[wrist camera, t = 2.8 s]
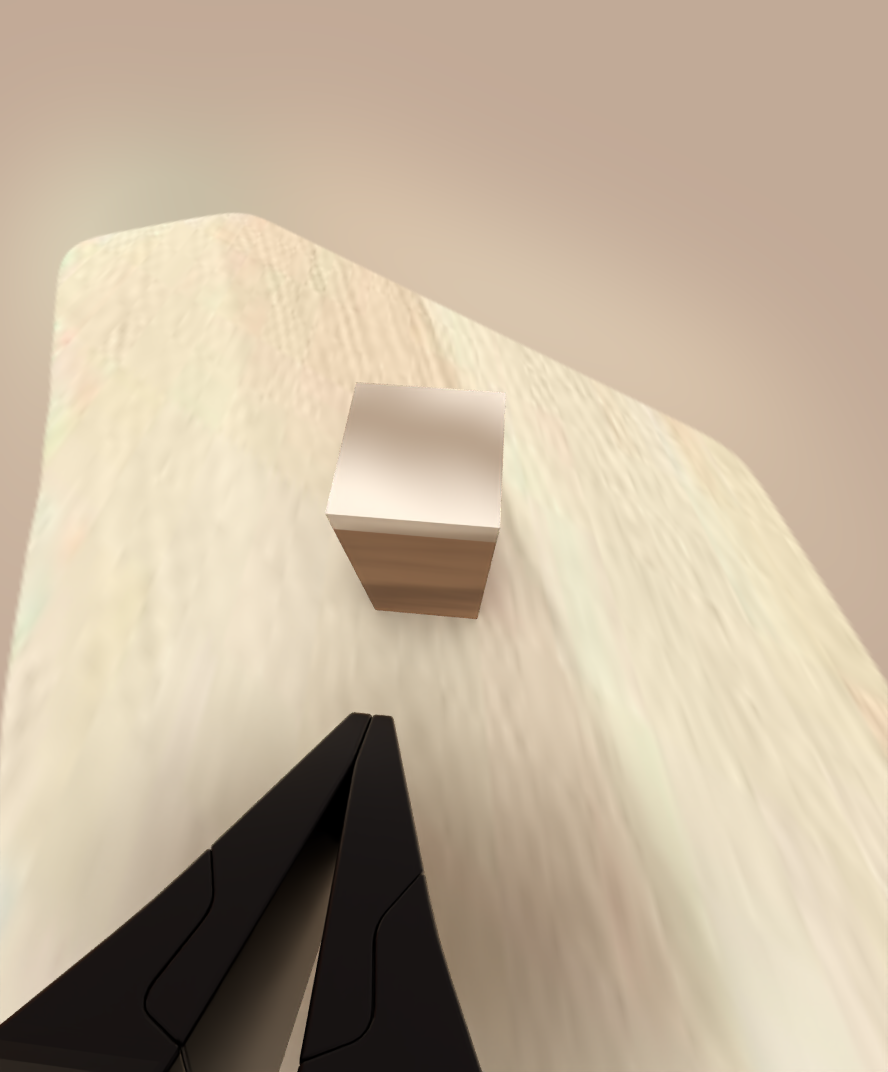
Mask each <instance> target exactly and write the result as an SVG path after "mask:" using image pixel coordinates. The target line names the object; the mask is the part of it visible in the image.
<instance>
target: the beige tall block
mask: <svg viewBox="0 0 888 1072" xmlns="http://www.w3.org/2000/svg"><path fill="white" fill-rule="evenodd" d="M505 399H506V393H505V392H491V391H476V390H461V389H447V388H432V387H417V386H403V385H388V384H374V383H359V382H356V385H355V389H354V394H353V398H352V402H351V406H350V410H349V415H348V419H347V423H346V427H345V432H344V436H343V440H342V444H341V449H340V453H339V457H338V461H337V466H336V470H335V474H334V478H333V483H332V487H331V491H330V495H329V500H328V504H327V508H326V512H325V514H326V516H327V518H328V520H329V522H330V524H331V526H332V528H333V530H334V531H335V533H336V535H337V537H338V539H339V541H340V543H341V545H342V547H343V549H344V551H345V553H346V554H347V556H348V558H349V560H350V562H351V564H352V566H353V568H354V570H355V572H356V574H357V575H358V577H359V579H360V581H361V583H362V585H363V587H364V589H365V591H366V593H367V595H368V597H369V598H370V600H371V602H372V604H373V606H374V608H375V610H383V611H394V612H405V613H416V614H427V615H438V616H449V617H460V618H471V619H477V617H478V613H479V609H480V605H481V601H482V597H483V593H484V589H485V585H486V581H487V577H488V573H489V569H490V565H491V561H492V557H493V553H494V549H495V545H496V541H497V537H498V533H499V529H500V514H501V491H502V468H503V445H504V422H505Z"/></svg>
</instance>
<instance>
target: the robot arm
mask: <svg viewBox="0 0 888 1072" xmlns="http://www.w3.org/2000/svg"><path fill="white" fill-rule="evenodd" d="M321 939H322V940H321ZM320 942H321V945H320ZM319 946H320V951H319V956H318V962H317V967H316V973H315V978H314V984H313V989H312V994H311V1000H310V1005H309V1011H308V1016H307V1022H306V1027H305V1033H304V1038H303V1044H302V1049H301V1054H300V1066H299V1068H298V1071H297V1072H482V1070H481V1067H480V1064H479V1061H478V1058H477V1055H476V1052H475V1049H474V1046H473V1043H472V1040H471V1037H470V1034H469V1031H468V1028H467V1025H466V1022H465V1019H464V1016H463V1013H462V1009H461V1006H460V1003H459V1000H458V997H457V994H456V991H455V988H454V985H453V982H452V979H451V976H450V973H449V969H448V966H447V962H446V959H445V956H444V952H443V949H442V945H441V942H440V939H439V935H438V931H437V927H436V923H435V918H434V914H433V910H432V906H431V901H430V897H429V892H428V887H427V882H426V877H425V875H424V868H423V863H422V858H421V853H420V848H419V843H418V838H417V833H416V828H415V823H414V818H413V813H412V808H411V803H410V798H409V793H408V788H407V783H406V778H405V773H404V768H403V763H402V759H401V754H400V749H399V744H398V739H397V734H396V729H395V724H394V719H393V717H391V716H385V715H374V716H373V717H372V716H371V715H370V714H365V713H355V712H354V713H351V714H350V715H348V716H347V717H346V718H345V719H344V720H343V721H342V722H341V723H340V724H339V725H338V726H337V727H336V728H335V729H334V730H333V731H332V732H330V733H329V734H328V735H327V736H326V737H325V738H324V739H323V740H322V741H321V742H320V743H319V744H318V745H317V746H316V747H315V748H314V749H313V750H312V751H310V752H309V753H308V754H307V755H306V756H305V757H304V758H303V759H302V760H301V761H300V762H299V763H298V764H297V765H296V766H295V767H294V768H293V769H291V770H290V771H289V772H288V773H287V774H286V775H285V776H284V777H283V778H282V779H281V780H280V781H279V782H278V783H277V784H276V785H275V786H274V787H273V788H271V789H270V790H269V791H268V792H267V793H266V794H265V795H264V796H263V797H262V798H261V799H260V800H259V801H258V802H257V803H256V804H255V805H254V806H253V807H251V808H250V809H249V810H248V811H247V812H246V813H245V814H244V815H243V816H242V817H241V818H240V819H239V820H238V821H237V822H236V823H235V824H234V825H232V826H231V827H230V828H229V829H228V830H227V831H226V832H225V833H224V834H223V835H222V836H221V837H220V838H219V839H218V840H217V841H216V842H215V843H214V844H212V846H211V850H210V849H207V850H206V851H205V852H204V853H203V854H202V855H201V856H200V857H198V858H197V859H196V860H195V861H194V862H193V863H192V864H191V865H190V866H189V867H188V868H187V869H186V870H185V871H184V872H182V873H181V874H180V875H179V876H178V877H177V878H176V879H175V880H174V881H173V882H171V883H170V884H169V885H168V886H167V887H166V888H165V889H164V890H163V891H162V892H160V893H159V894H158V895H157V896H156V897H155V898H154V899H153V900H152V901H150V902H149V903H148V904H147V905H146V906H144V907H143V908H142V909H141V910H140V911H138V912H137V913H136V914H135V915H134V916H133V917H131V918H130V919H129V920H128V921H127V922H125V923H124V924H123V925H122V926H121V927H119V928H118V929H117V930H116V931H115V932H114V933H112V934H111V935H110V936H109V937H107V938H106V939H105V940H104V941H102V942H101V943H100V944H99V945H98V946H96V947H95V948H94V949H93V950H91V951H90V952H89V953H88V954H87V955H85V956H84V957H83V958H82V959H80V960H79V961H78V962H77V963H75V964H74V965H73V966H72V967H71V968H69V969H68V970H67V971H66V972H64V973H63V974H62V975H61V976H59V977H58V978H57V979H56V980H55V981H53V982H52V983H51V984H50V985H48V986H47V987H46V988H45V989H43V990H42V991H41V992H40V993H39V994H37V995H36V996H35V997H34V998H32V999H31V1000H30V1001H29V1002H28V1003H26V1004H25V1005H24V1006H23V1007H21V1008H20V1009H19V1010H18V1011H16V1012H15V1013H14V1014H13V1015H12V1016H10V1017H9V1018H8V1019H7V1020H5V1021H4V1022H3V1023H1V1024H0V1072H279V1069H280V1066H281V1063H282V1060H283V1057H284V1054H285V1051H286V1048H287V1045H288V1041H289V1038H290V1035H291V1032H292V1029H293V1026H294V1023H295V1020H296V1017H297V1014H298V1011H299V1007H300V1004H301V1001H302V998H303V995H304V992H305V989H306V986H307V983H308V980H309V976H310V973H311V970H312V967H313V964H314V961H315V958H316V955H317V952H318V949H319Z"/></svg>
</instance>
